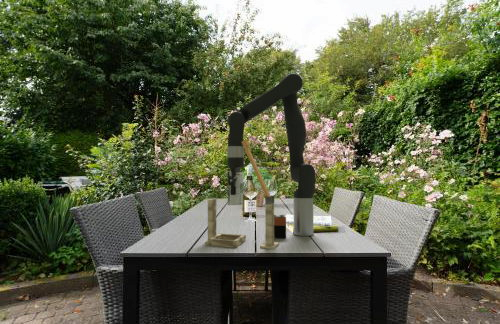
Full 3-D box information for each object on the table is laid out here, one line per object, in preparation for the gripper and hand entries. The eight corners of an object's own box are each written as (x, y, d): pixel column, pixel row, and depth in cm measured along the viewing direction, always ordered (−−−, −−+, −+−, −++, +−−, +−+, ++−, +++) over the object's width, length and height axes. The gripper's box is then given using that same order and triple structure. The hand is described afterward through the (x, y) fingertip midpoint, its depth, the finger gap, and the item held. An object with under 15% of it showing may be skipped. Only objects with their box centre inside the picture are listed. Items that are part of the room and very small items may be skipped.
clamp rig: (214, 238, 139) (214, 193, 140) (280, 243, 131) (280, 194, 131) (202, 245, 128) (202, 195, 128) (274, 250, 119) (273, 197, 120)
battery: (285, 238, 140) (285, 216, 140) (270, 238, 140) (270, 215, 141) (286, 236, 144) (286, 214, 144) (271, 236, 145) (271, 214, 145)
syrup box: (231, 203, 145) (231, 172, 145) (243, 204, 143) (243, 172, 144) (227, 205, 139) (227, 172, 139) (240, 205, 138) (240, 172, 138)
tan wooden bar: (244, 142, 132) (247, 140, 131) (270, 200, 128) (274, 199, 128) (241, 141, 128) (245, 139, 128) (268, 201, 124) (272, 199, 124)
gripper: (238, 156, 134) (238, 195, 133) (248, 157, 147) (248, 193, 147) (221, 156, 136) (221, 195, 135) (233, 157, 149) (233, 192, 149)
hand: (235, 194), depth 141 cm, fingers closed on syrup box, 6 cm apart
